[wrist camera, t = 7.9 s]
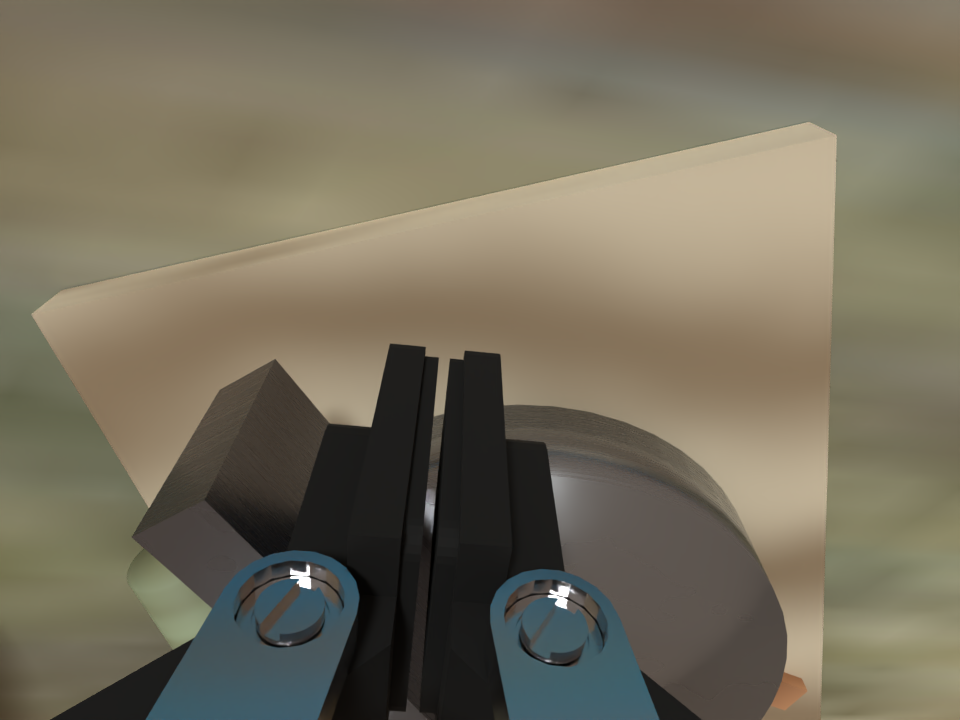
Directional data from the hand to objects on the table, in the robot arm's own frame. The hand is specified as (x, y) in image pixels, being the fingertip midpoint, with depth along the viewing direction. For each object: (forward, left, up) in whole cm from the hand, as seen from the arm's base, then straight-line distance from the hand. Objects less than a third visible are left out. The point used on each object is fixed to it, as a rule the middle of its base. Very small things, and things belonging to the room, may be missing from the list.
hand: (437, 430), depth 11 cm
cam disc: (-7, +1, -4) cm, 8 cm away
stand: (-8, 0, -5) cm, 10 cm away
